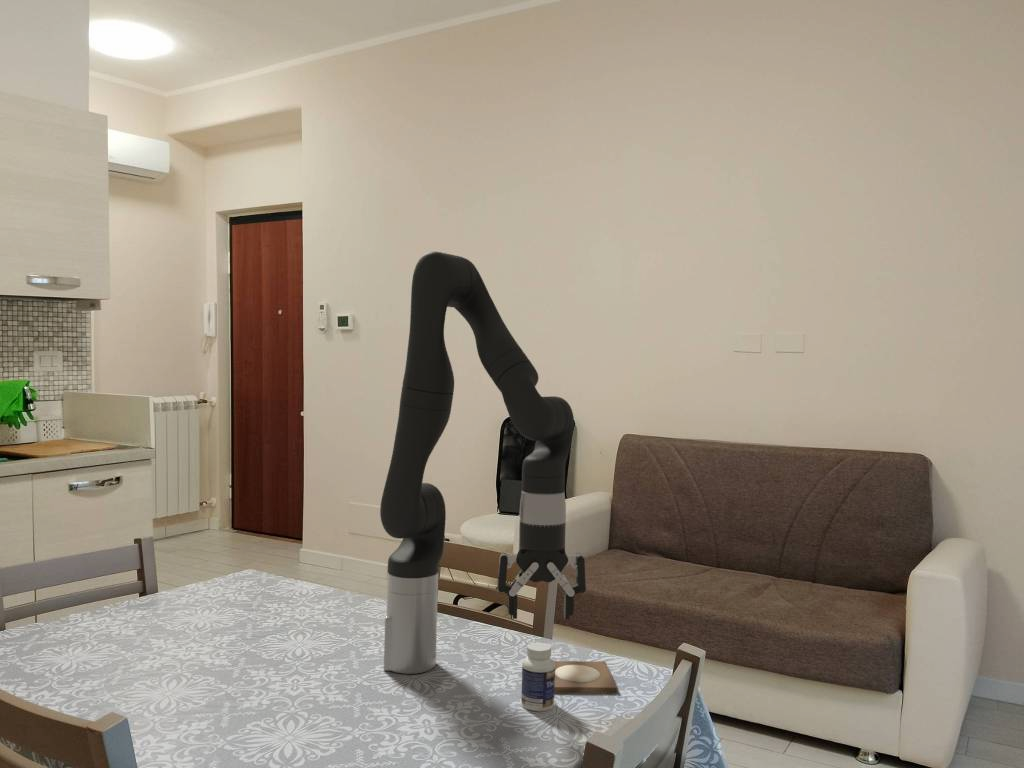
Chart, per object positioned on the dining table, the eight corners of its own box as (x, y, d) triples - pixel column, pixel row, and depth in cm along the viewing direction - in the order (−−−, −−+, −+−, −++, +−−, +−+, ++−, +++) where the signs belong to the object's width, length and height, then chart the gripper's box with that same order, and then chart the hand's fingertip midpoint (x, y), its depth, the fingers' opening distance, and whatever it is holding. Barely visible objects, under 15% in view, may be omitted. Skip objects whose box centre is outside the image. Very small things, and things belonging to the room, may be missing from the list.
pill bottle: (551, 714, 128) (553, 653, 127) (518, 710, 129) (520, 650, 129) (556, 700, 133) (557, 642, 133) (524, 697, 134) (526, 639, 134)
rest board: (546, 692, 136) (547, 686, 136) (540, 666, 148) (540, 660, 148) (616, 693, 137) (617, 686, 137) (605, 666, 149) (605, 661, 149)
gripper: (499, 522, 126) (497, 625, 126) (589, 523, 127) (587, 625, 127) (498, 514, 134) (496, 610, 134) (582, 515, 134) (580, 611, 135)
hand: (540, 617), depth 131 cm, fingers open, 8 cm apart
